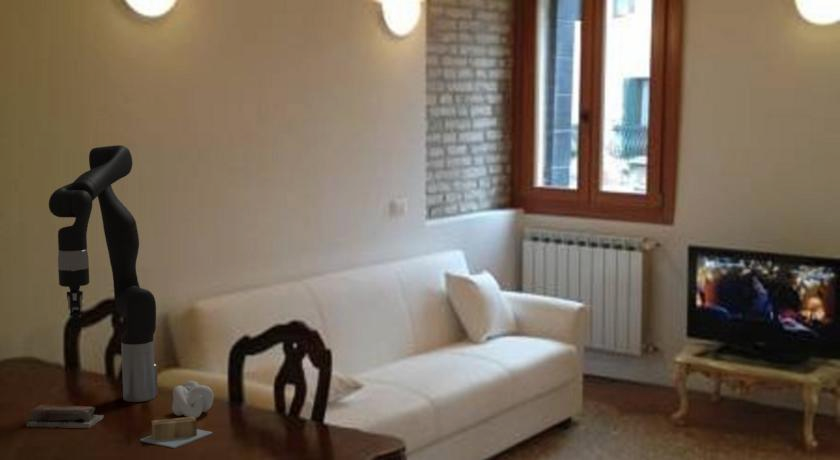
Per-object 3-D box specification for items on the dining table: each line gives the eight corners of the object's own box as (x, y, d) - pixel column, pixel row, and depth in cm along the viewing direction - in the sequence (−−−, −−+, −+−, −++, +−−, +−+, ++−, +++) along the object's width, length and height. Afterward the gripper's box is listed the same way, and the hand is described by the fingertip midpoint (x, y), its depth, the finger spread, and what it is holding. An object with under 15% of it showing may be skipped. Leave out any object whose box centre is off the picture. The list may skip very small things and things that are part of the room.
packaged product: (24, 411, 273) (41, 401, 283) (25, 428, 273) (42, 418, 283) (88, 412, 271) (103, 402, 281) (89, 430, 272) (104, 419, 282)
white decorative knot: (159, 415, 283) (158, 384, 283) (195, 406, 292) (194, 376, 291) (182, 423, 276) (181, 391, 275) (219, 414, 285) (218, 382, 284)
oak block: (151, 420, 263) (194, 416, 267) (152, 435, 264) (194, 431, 267) (152, 425, 259) (196, 420, 263) (153, 440, 260) (196, 435, 263)
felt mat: (179, 426, 272) (179, 425, 272) (212, 433, 266) (212, 432, 266) (140, 441, 260) (140, 439, 260) (174, 448, 254) (174, 446, 254)
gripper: (58, 264, 269) (61, 324, 270) (57, 271, 255) (60, 334, 257) (88, 262, 271) (90, 322, 273) (89, 269, 258) (91, 332, 259)
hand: (76, 328), depth 265 cm, fingers open, 8 cm apart
